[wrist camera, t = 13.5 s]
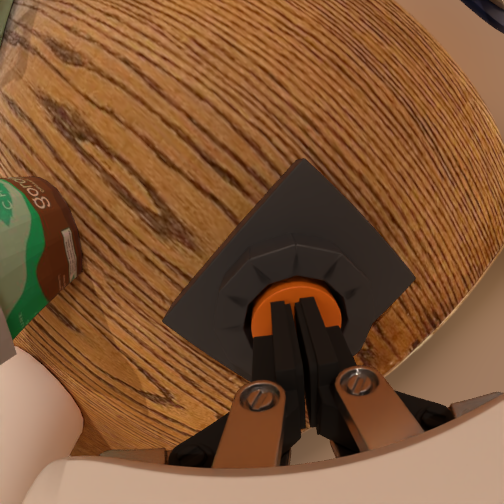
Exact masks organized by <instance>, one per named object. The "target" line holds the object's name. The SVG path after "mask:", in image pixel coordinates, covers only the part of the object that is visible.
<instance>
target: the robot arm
mask: <svg viewBox="0 0 504 504" xmlns="http://www.w3.org/2000/svg"><path fill="white" fill-rule="evenodd" d="M490 1H491V2H492V3H494V4H495V5H497V6H498V7H500V8H502V9H504V0H490ZM270 305H271V319H272V333H273V335H267V336H258V337H254V338H253V361H252V382H249V383H247V384H245V385H244V386H242V387H241V388H240V389H239V390H238V391H237V393H236V395H235V397H234V400H233V403H232V406H231V409H230V412H229V413H227V414H226V415H224V416H223V417H221V418H220V419H219V420H217V421H216V422H214V423H213V424H211V425H209V426H208V427H206V428H205V429H203V430H202V431H200V432H199V433H197V434H195V435H194V436H192V437H191V438H189V439H187V440H186V441H184V442H182V443H181V444H179V445H178V446H176V447H175V448H174V449H173V450H168V451H167V450H166V449H165V448H156V449H134V450H107V451H105V452H103V453H101V454H100V455H99V456H73V457H66V458H61V459H57V460H55V461H53V462H51V463H50V464H48V465H47V466H46V467H45V468H44V469H43V470H42V471H41V473H40V474H39V475H38V477H37V478H36V480H35V481H34V483H33V484H32V486H31V488H30V489H29V491H28V493H27V495H26V497H25V499H24V501H23V503H22V504H504V393H501V392H494V393H491V394H487V395H484V396H480V397H476V398H473V399H469V400H465V401H461V402H456V403H452V404H451V405H450V407H448V408H447V407H446V406H444V405H441V404H438V403H435V402H431V401H427V400H424V399H421V398H417V397H414V396H410V395H407V394H404V393H401V392H398V391H395V390H393V388H392V387H391V386H390V385H389V383H388V382H387V381H386V379H385V378H384V377H383V375H382V374H381V373H380V372H379V371H378V370H376V369H374V368H372V367H369V366H364V365H356V363H355V360H354V358H353V356H352V354H351V351H350V349H349V347H348V345H347V342H346V340H345V338H344V336H343V334H342V331H341V329H340V327H339V326H338V325H337V326H331V327H325V324H324V322H323V319H322V317H321V314H320V311H319V309H318V306H317V304H316V301H315V299H314V297H306V298H300V299H299V302H297V303H295V316H296V329H297V333H296V329H295V324H294V319H293V314H292V309H291V305H290V303H289V304H285V302H284V301H276V302H270ZM305 399H306V405H307V411H308V417H309V423H310V427H316V429H317V434H318V435H319V434H320V435H322V436H324V437H326V438H328V439H330V444H331V447H332V449H333V452H334V454H335V456H336V458H335V459H330V460H324V461H318V462H312V463H305V464H298V465H290V458H291V447H292V446H293V445H294V444H295V443H296V442H297V441H298V440H299V439H300V438H301V429H304V428H306V423H305Z"/></svg>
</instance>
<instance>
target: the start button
mask: <svg viewBox="0 0 504 504" xmlns="http://www.w3.org/2000/svg"><path fill="white" fill-rule="evenodd" d="M306 297H314V299H315V301H316V304H317V306H318V309H319V311H320V314H321V317H322V319H323V322H324V324H325V327H331V326H337V325H338V326H339V327H340V329H341V322H342V318H341V312H340V309H339V307H338V305H337V303H336V301H335V299H334V297H333V295H332V293H331V291H330V289H329V287H328V286H327V284H326V283H325V282H324V281H323V280H318V279H312V278H307V277H301V276H294V277H291V278H288V279H285V280H281V281H278V282H275V283H272V284H269V285H267V286H266V287H265V288H264V289H263V290H262V291H261V292H260V293H259V294H258V295H257V296H256V298H255V299H254V300H253V305H252V321H251V331H252V336H253V338H254V337H258V336H267V335H273V333H272V319H271V305H270V302H276V301H284V302H285V304H289V303H290V305H291V309H292V314H293V319H294V324H295V329H296V316H295V303H297V302H299V299H300V298H306ZM296 333H297V329H296Z"/></svg>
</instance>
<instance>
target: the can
mask: <svg viewBox="0 0 504 504" xmlns="http://www.w3.org/2000/svg"><path fill="white" fill-rule="evenodd" d="M14 347H15V350H16V353H17V354H16V355H15V356H13V357H12V358H10V359H9V360H7V361H6V362H4V363H3V364H1V365H0V504H22V503H23V501H24V499H25V497H26V495H27V493H28V491H29V489H30V488H31V486H32V484H33V483H34V481H35V480H36V478H37V477H38V475H39V474H40V473H41V471H42V470H43V469H44V468H45V467H46V466H47V465H48V464H50V463H51V462H53V461H55V460H57V459H61V458H66V457H69V455H70V453H71V451H72V449H73V447H74V446H75V444H76V442H77V440H78V438H79V436H80V435H81V433H82V429H83V417H82V414H81V412H80V409H79V407H78V406H77V404H76V403H75V401H74V400H73V398H72V397H71V395H70V394H69V393H68V392H67V391H66V389H65V388H64V387H63V386H62V385H61V383H60V382H59V381H58V380H57V379H56V378H55V377H54V376H53V375H52V374H51V373H50V372H49V371H48V370H47V369H46V368H45V367H44V366H43V365H42V364H41V363H40V362H38V361H37V360H36V359H35V358H34V357H32V356H31V355H30V354H29V353H27V352H25V351H24V350H22V349H20V348H19V347H17V346H14Z"/></svg>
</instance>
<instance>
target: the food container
mask: <svg viewBox="0 0 504 504" xmlns="http://www.w3.org/2000/svg"><path fill="white" fill-rule="evenodd" d="M81 272H82V250H81V245H80V240H79V234H78V229H77V227H76V224H75V222H74V219H73V216H72V214H71V211H70V209H69V206H68V205H67V203H66V202H65V200H64V199H63V197H62V196H61V194H60V193H59V191H58V190H57V189H56V188H55V187H54V186H53V185H51V184H50V183H49V182H48V181H47V180H44V179H42V178H40V177H33V176H32V177H11V178H0V365H1V364H3V363H4V362H6V361H7V360H9V359H10V358H12V357H13V356H15V355H16V354H17V353H16V350H15V347H14V344H13V339H14V338H15V337H16V336H17V335H18V334H19V333H20V332H21V331H22V330H23V328H24V327H25V326H26V325H27V324H28V323H29V322H30V321H31V320H32V319H33V318H34V317H35V316H36V315H37V314H38V313H39V312H40V311H41V310H42V309H43V308H44V307H45V306H46V305H47V304H48V303H49V302H50V301H51V300H52V299H53V298H54V297H55V296H56V295H57V294H58V293H59V292H60V291H62V290H63V289H64V288H65V287H66V286H67V285H68V284H69V283H70V282H71V281H72V280H73V279H75V278H76V277H77V276H78V275H79V274H80V273H81Z"/></svg>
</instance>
